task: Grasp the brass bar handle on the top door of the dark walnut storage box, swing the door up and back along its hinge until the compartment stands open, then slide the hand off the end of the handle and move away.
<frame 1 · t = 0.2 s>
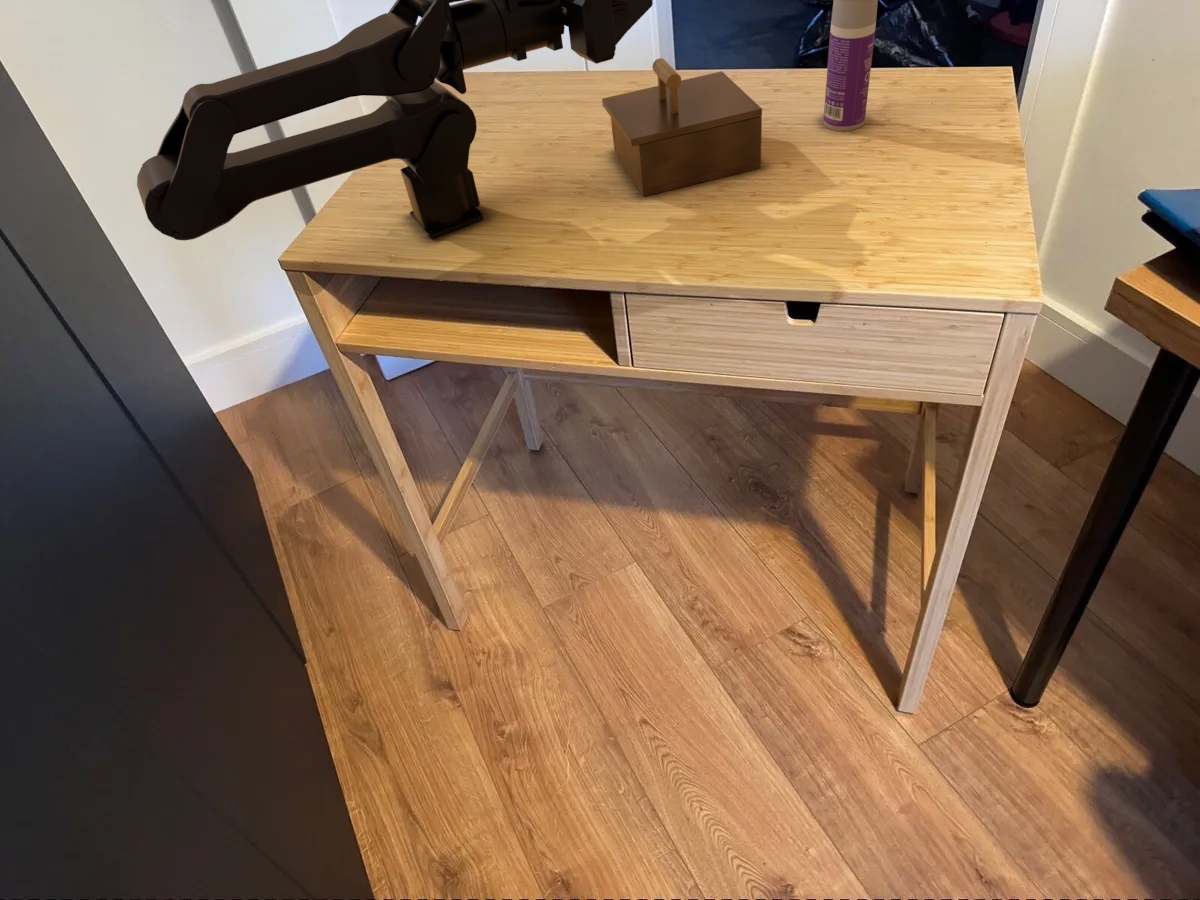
container: (843, 123, 96), on the table
compartment: (685, 160, 94), on the table
box door: (678, 87, 88), point 8 cm above the table, hinge at 0.0°
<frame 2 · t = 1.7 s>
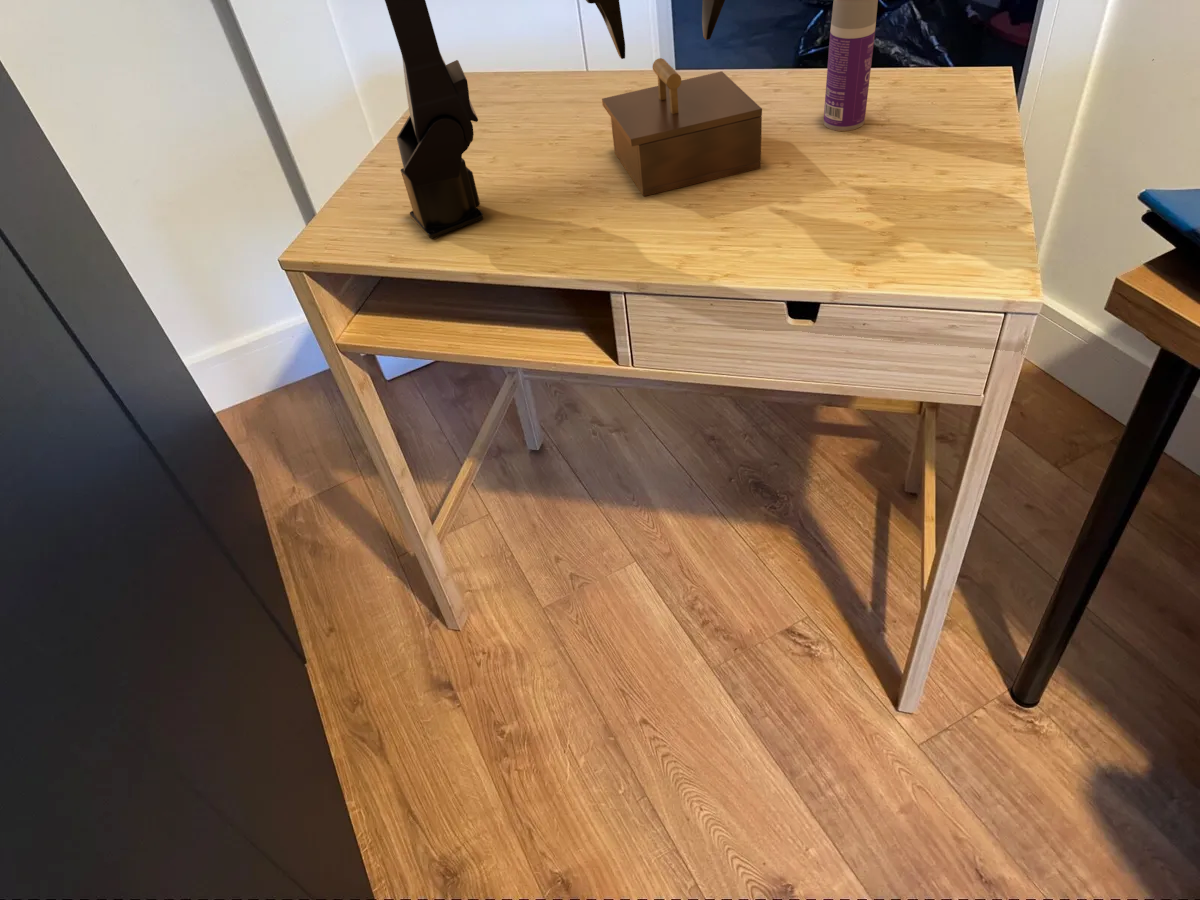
hand: (664, 48, 85), 13 cm above the table, tool pointing down, fingers open, 9 cm apart
nothing on the table moved.
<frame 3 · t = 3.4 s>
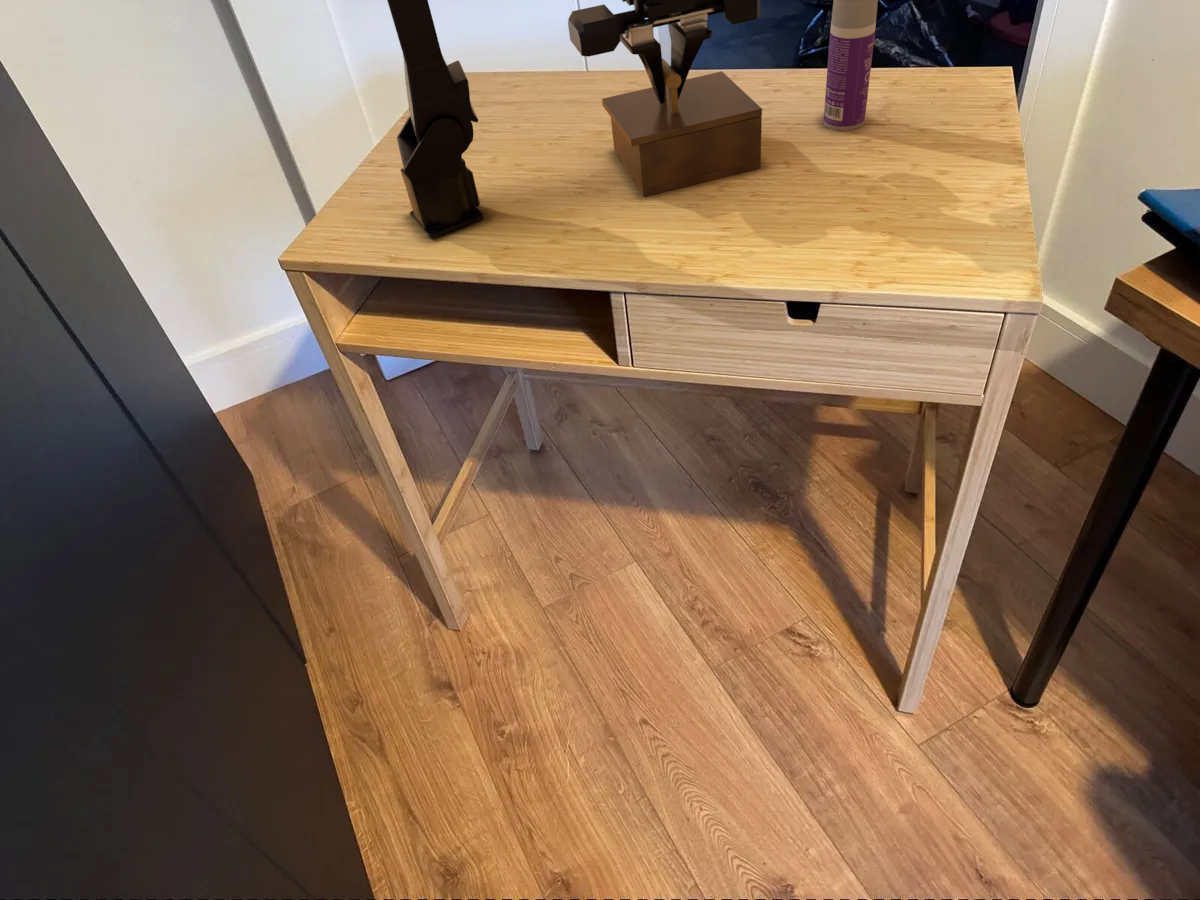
hand: (668, 100, 88), 7 cm above the table, tool pointing down, fingers closed on box door
box door: (678, 87, 88), point 8 cm above the table, hinge at -0.1°, touching gripper
everything else where it was.
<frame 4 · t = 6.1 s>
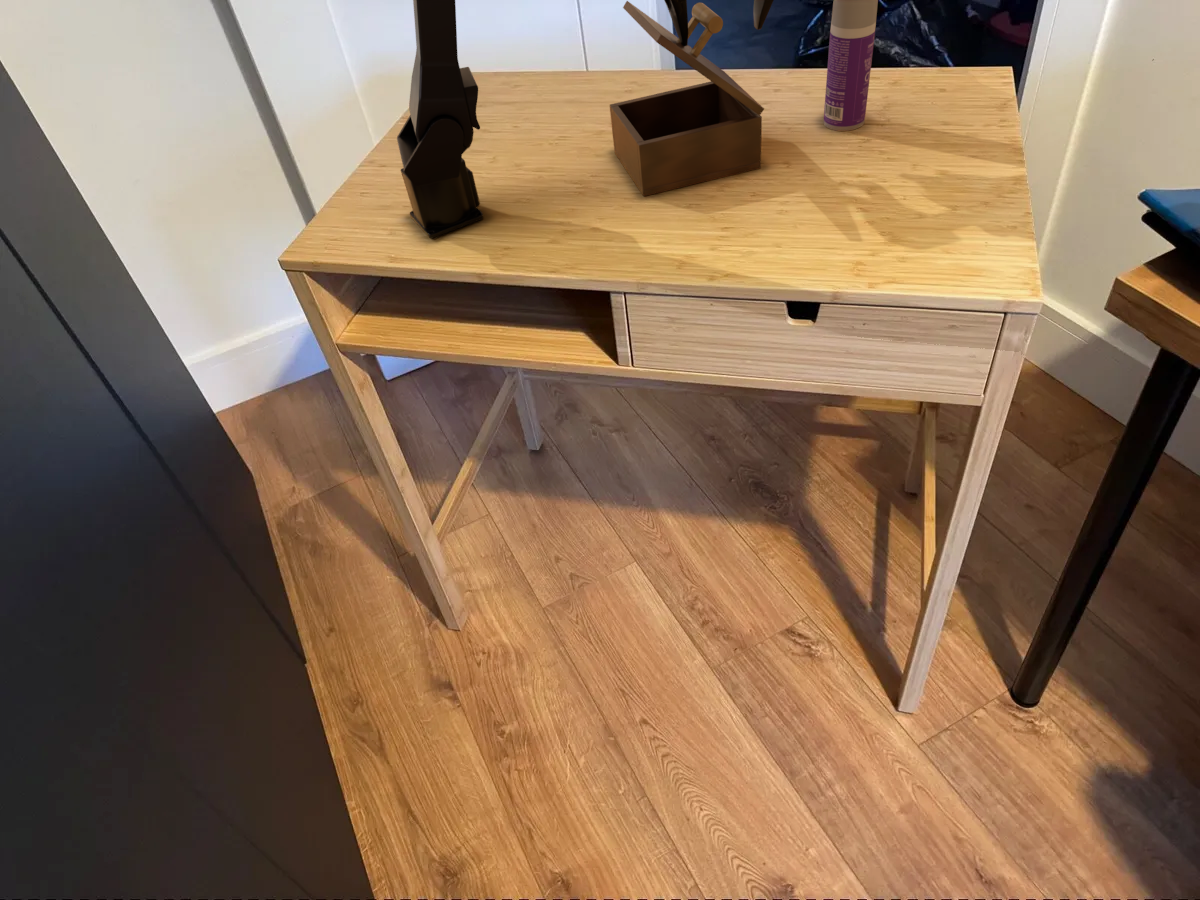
hand: (721, 36, 85), 13 cm above the table, tool pointing down, fingers open, 8 cm apart
box door: (705, 39, 85), point 13 cm above the table, hinge at 41.5°, touching gripper
everything else where it was.
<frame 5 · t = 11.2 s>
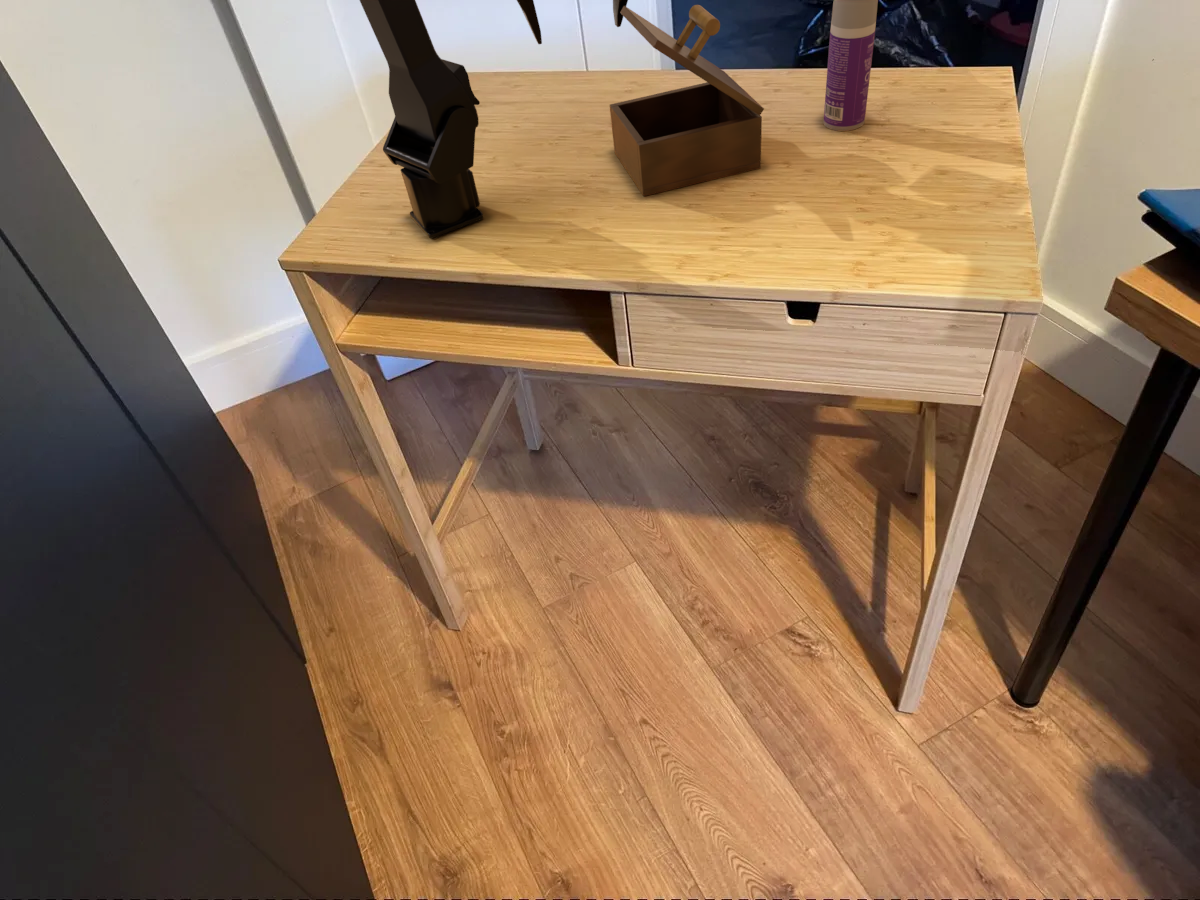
hand: (578, 34, 92), 12 cm above the table, tool pointing down, fingers open, 9 cm apart
box door: (703, 41, 85), point 12 cm above the table, hinge at 39.4°
everything else where it was.
at the end: box door at +39° (first picture: +0°) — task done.
